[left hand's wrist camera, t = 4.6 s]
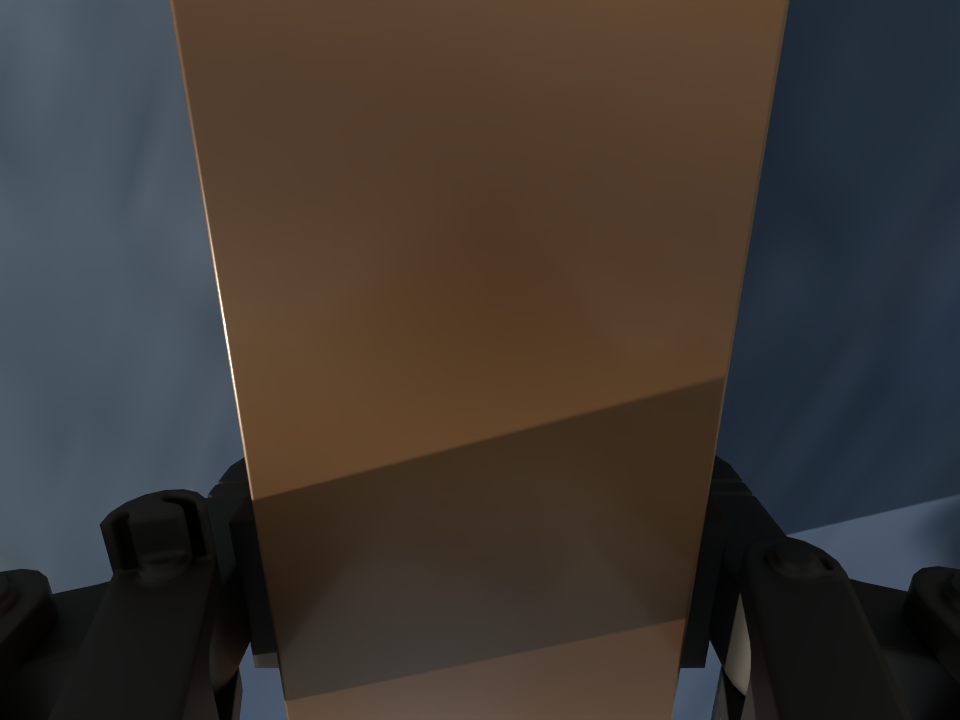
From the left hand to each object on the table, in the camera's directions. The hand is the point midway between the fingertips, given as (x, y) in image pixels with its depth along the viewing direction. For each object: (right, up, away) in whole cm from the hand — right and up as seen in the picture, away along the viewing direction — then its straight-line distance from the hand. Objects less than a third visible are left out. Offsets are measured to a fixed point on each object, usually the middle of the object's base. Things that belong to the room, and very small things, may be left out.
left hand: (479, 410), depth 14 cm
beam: (0, +24, -8) cm, 26 cm away
